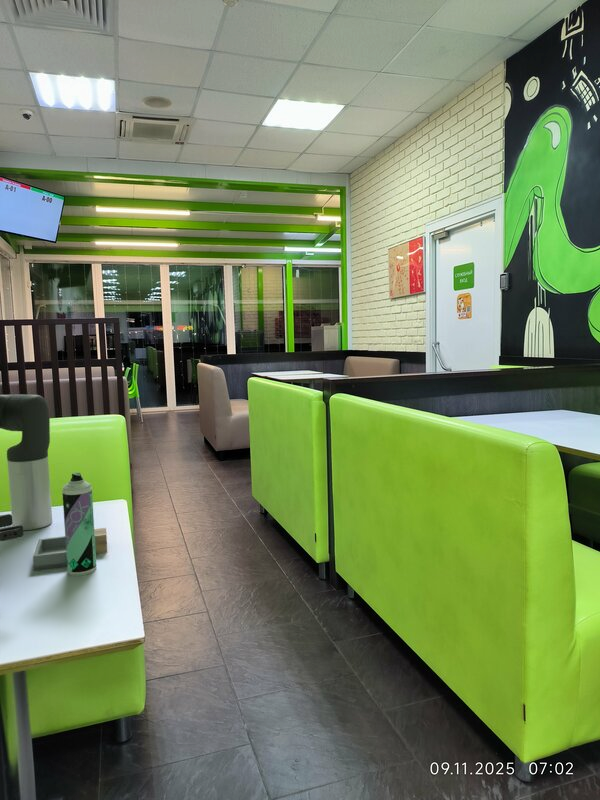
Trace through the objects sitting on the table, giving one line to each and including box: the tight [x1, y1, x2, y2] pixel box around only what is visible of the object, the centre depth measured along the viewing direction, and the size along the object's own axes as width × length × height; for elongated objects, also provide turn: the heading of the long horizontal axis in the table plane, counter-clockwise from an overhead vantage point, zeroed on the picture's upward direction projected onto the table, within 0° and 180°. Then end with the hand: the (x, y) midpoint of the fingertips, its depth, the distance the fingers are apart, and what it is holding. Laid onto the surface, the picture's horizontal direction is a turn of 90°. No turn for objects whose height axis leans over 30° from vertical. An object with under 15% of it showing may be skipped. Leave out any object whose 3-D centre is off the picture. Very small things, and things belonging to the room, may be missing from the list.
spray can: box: [61, 472, 97, 577], centre depth 111 cm, size 6×6×20 cm
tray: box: [32, 535, 67, 572], centre depth 119 cm, size 10×10×3 cm
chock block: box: [94, 527, 108, 554], centre depth 124 cm, size 5×3×4 cm, turn 19°
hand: (17, 524), depth 104 cm, fingers open, 8 cm apart
